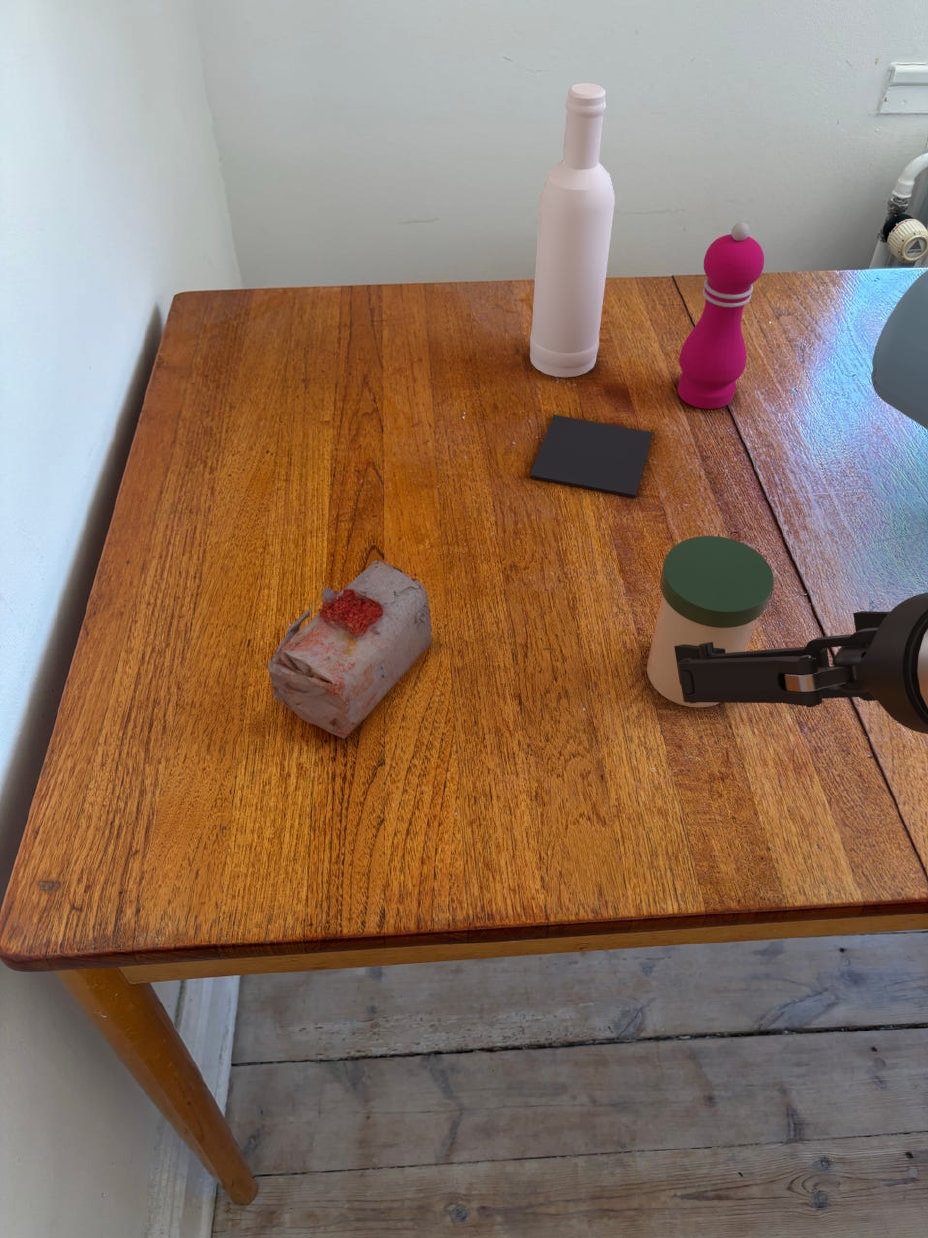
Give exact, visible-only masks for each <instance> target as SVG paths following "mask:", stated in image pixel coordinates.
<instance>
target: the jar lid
mask: <svg viewBox="0 0 928 1238" xmlns="http://www.w3.org/2000/svg"><path fill="white" fill-rule="evenodd" d="M774 585H775V578H774V573H773V570H772V567H771V566H770V564H769V562H768V561H767V560H766V559H765V557H764V556H763V555H761V554H760V553H759V552H758V550H755V549H754V548H753V547H751V546H749V545H748V544H745V543H744V542H740V541H739V540H735V539H733V538H729V537H726V536H725V537H724V536H719V535H700V536H693V537H690V538H687V539H684V540H683V541H680V542H679V543H677V544H675V545H674V546H673V547H672V548H671V549H670V550H669V551H668V552H667V554H666V556H665V557H664V560H663V565H662V569H661V574H660V579H659V588H660V591H661V595H662V594H663V596H664V598H665V600H666V601H667V603H668V604H669V605H670V606H671V607H672V608H673V609H674V610H675V611H676V612H677V613H679V614H680V615H681V616H683V617H685V618H686V619H688V620H690V621H693V622H695V623H698V624H701V625H705V626H709V627H716V628H732V627H738V626H742V625H745V624H748V623H750V622H752V621H754V620H755V619H757V620H758V618H759V617H760V616H761V615H762V614H763V613H764V612H765V611H766V609H767V607H768V604H769V601H770V600H771V597H772V595H773V591H774Z"/></svg>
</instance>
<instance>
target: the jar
mask: <svg viewBox="0 0 928 1238" xmlns="http://www.w3.org/2000/svg"><path fill="white" fill-rule="evenodd" d="M757 621H758V618H757V619H755V620H754V621H752V622H750V623H748V624H745V625H742V626H738V627H732V628H716V627H709V626H705V625H701V624H698V623H695V622H693V621H690V620H688V619H686V618H685V617H683V616H681V615H680V614H679V613H677V612H676V611H675V610H674V609H673V608H672V607H671V606H670V605H669V604H668V603H667V601H666V600H665V598H664V596H663V594H662V593H661V598H660V603H659V608H658V612H657V617H656V621H655V625H654V629H653V630H654V631H653V635H652V640H651V645H650V649H649V653H648V658H647V662H646V672H647V677H648V679H649V682H650V683H651V685H652V686H653V688H654V689H655V690H656V691H657V692H658V693H659V694H660V695H661V696H663V697H664V698H666V699H667V700H669V701H671V702H673V703H675V704H678V705H680V706H683V707H689V708H709V707H713V706H716V705H718V704H720V703H712V702H698V703H690V702H687V703H686V702H684V700H683V694H682V688H681V685H680V681H679V674H678V668H677V661H676V655H675V649H674V646H678V645H683V644H686V645H695V646H699V644H703V643H708V642H713V646H714V648H723V649H725V652H726V653H731V652H744V651H748V649H749V646H750V643H751V639H752V636H753V633H754V631H755V627H756V625H757Z"/></svg>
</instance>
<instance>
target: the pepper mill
mask: <svg viewBox="0 0 928 1238" xmlns="http://www.w3.org/2000/svg"><path fill="white" fill-rule="evenodd" d="M750 232H751V231H750V226H749V225H748V224H747V223H746V222H742V221H740V222H736V223H735V224H734V225H732V228H731V229H730V234H724V235H722V236H720V237H718V238H716V239H715V240H714V241H713V242H712V243H710V244H709V247H707V250H706V251H705V255H704V258H703V271H704V274H705V276H706V277H707V278H705V280H704V282H703V285H704V287H703V289H702V295H703V297H704V299H705V302H704V307H703V311H702V314H701V316H700V318H699V320H698V321H697V323H696V324H695V326H694V328H693V329H692V330H691V331H690V333H689V334H688V335H687V337H686V339H685V340H684V343H683V345H682V347H681V350H680V353H679V357H678V359H679V360H678V364H679V367H680V370H681V371H682V373H681V374H680V376H679V380H678V386H677V394H678V395H679V398H680V399H682V400H683V402H685V403H686V404H688V405H690V406H692V407H695V408H698V409H702V410H703V409H705V410H717V409H721V408H723V407H726V406H728V405H729V404H730V403H732V401H733V398H734V396H735V391H736V388H737V383H736V381H737V380H739V378H740V377H741V376H742V375H743V373H744V371H745V369H746V364H747V347H746V343H745V339H744V336H743V332H742V319H743V312H744V309H745V305H747V304H748V303H749V302H750V301H751V299H752V293H753V291H754V285H753V284H754V283H756V282H757V280H758V279H759V278H760V277H761V275H762V273H763V270H764V267H765V255H764V251H763V248H762V246H761V245H760V244H759V242H757V241H756V240H755V238H752V237H750V236H749V235H750Z"/></svg>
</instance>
